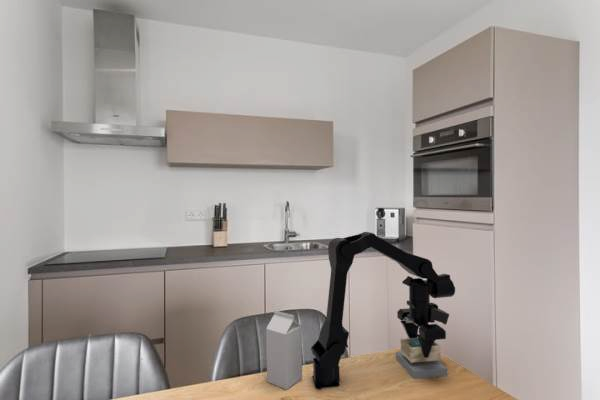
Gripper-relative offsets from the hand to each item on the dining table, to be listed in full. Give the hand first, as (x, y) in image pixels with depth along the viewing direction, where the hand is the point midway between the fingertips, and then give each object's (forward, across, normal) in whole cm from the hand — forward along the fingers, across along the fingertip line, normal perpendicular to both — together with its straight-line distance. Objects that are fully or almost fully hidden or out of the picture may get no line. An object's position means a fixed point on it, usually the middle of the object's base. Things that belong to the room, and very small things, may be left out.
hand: (420, 351), depth 102 cm
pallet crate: (+1, 0, 0) cm, 1 cm away
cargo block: (0, 0, 0) cm, 0 cm away
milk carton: (+5, 0, +40) cm, 41 cm away
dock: (+5, 0, 0) cm, 5 cm away
